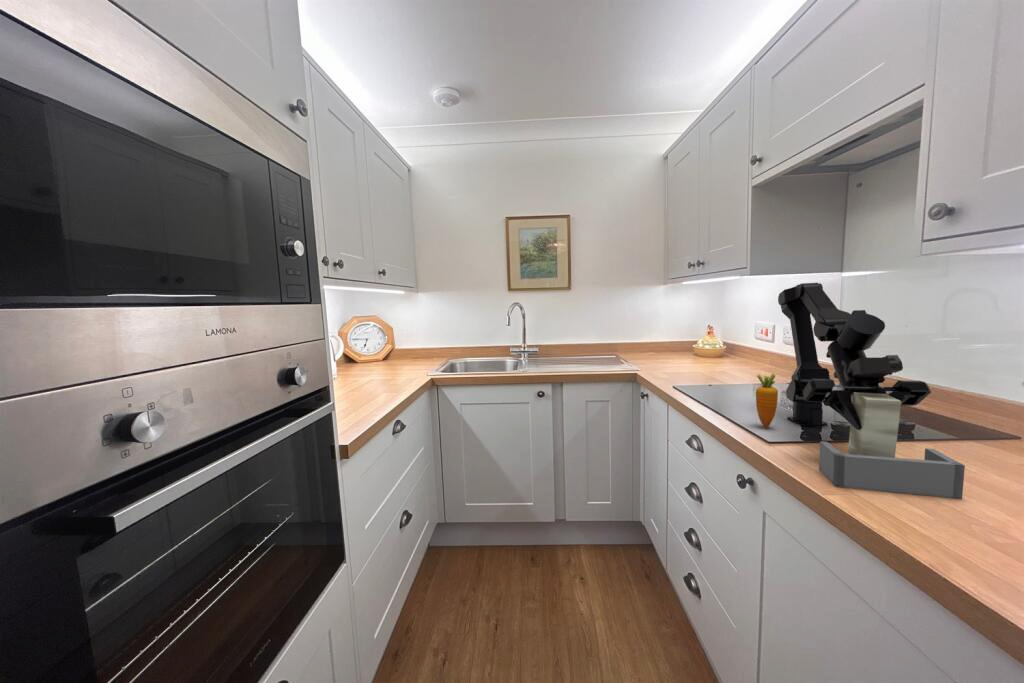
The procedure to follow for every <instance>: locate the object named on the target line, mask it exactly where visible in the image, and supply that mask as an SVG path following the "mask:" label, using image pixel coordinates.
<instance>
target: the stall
mask: <svg viewBox="0 0 1024 683" xmlns="http://www.w3.org/2000/svg"><path fill="white" fill-rule="evenodd" d="M818 458H819V459H818V460H819V462H818V470H819V472H821V473H822V474H823V475H824V476H825V477H826V479H827V480H829V481H830V483H832V484H833V485H834V487H837V488H838V487H839V488H848V489H858V490H859V489H860V490H867V491H880V492H888V493H898V494H908V495H916V496H917V495H918V496H928V497H939V498H948V499H960V500H962V499H963V492H964V480H965V469H966V465H965V464H963V463H961V462H959V461H958V460H955V459H954V458H951V457H950V456H948V455H946V454H945V453H942V452H940V451H939V450H937V449H935V448H925V449H924V459H916V458H903V457H902V458H901V457H895V458H891V457H878V456H864V455H851V454H849V453H842V452H840V451H839V449H837V448H836V447H835V446H833V445H832V444H831V443H829V442H828V441H819V456H818Z"/></svg>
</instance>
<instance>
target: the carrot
mask: <svg viewBox="0 0 1024 683" xmlns="http://www.w3.org/2000/svg"><path fill="white" fill-rule="evenodd" d="M756 377H757V379H758V380H759V382H760V384H761V386H758V387H757V388H756V390H755V404H756V405H755V406H756V410H757V415H758V417H759V420H760V423H761V425H762V426H763V427H764V428H765V429H767V428H769V427H770V426H771V424H772V423H773V421H774V418H775V415H776V411H777V408H778V398H779V396H778V395H779V392H778V389H777V388H776V387H774V386H772V385H774V384H775V383H776V381H775V378H776V374H775V373H772V374H771V375H770V376H767V375H764V376H763V377H762V376H761V375H760V374H757V375H756Z"/></svg>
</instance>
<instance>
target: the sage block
mask: <svg viewBox="0 0 1024 683" xmlns="http://www.w3.org/2000/svg"><path fill="white" fill-rule="evenodd" d="M852 404H853V406H854V408H855V411H856V413H857V415H858V417H859V420H860V423H861V427H862V428H861V429H860V430H857V429H856V428H855V427H853V426H852V425H851V424H850V428H849V437H848V448H847V454H851V455H864V456H878V457H891V458H896V451H897V443H898V433H899V426H900V416H901V408H902V406H901V401H900V400H898V399H895V398H893V397H891V396H889V395H887V394H877V393H858V392H854V394H853V396H852Z"/></svg>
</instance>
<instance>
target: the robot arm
mask: <svg viewBox="0 0 1024 683" xmlns="http://www.w3.org/2000/svg"><path fill="white" fill-rule="evenodd" d="M777 302H778V305H779V306H780V309H781V313H782V314H784V315H785V317H786V318H788V319H789V321H790V322H789V323H790V329H791V334H792V341H793V348H794V353H795V354H794V355H795V361H796V368H795V370H794V371H793V373H792V375H791V381H790V382H789V384H788V386H787V388H786V389H785V393H786V395H785V396H786V398H787V399H788V400H789V401H791V402H792V403H793V404H792V408H793V410H792V416H787V417H786V418H787V420H790V421H792V422H794V423H796V424H798V425H800V426H802V427H808V426H828V423H827V422H825V421H824V420H823V416H824V415H823V413H824V410H823V405H824V406H825V407H829V408H831V409H832V410H834V411H835V412H836V413H838V415H840V416H841V417H842V418H844V419H845V420H846V421H847V422H848V423H849V424H850V425H852V426H853V427H855V428H856V429H857V430H860V429H861V428H862V427H861V423H860V420H859V417H858V415H857V413H856V411H855V408H854V406H853V400H852V397H853V394H854V392H858V393H877V394H887V395H889V396H891V397H893V398H895V399H898V400H900V401H901V407H902V406H904V407H905V406H907V407H909V406H910V407H913V406H917V405H919V404H920V403H921V402H922V401H923V400H925V398H926V397H928V396H929V395H930V394H931V393H932V390H931V388H930V386H929V385H928V383H926V382H925V381H923V380H907V379H906V380H901V379H899V380H897V381H896V382H895V383H894V384H893V385H892V386H880V384H883V383H884V382H885V381H886V378H885V377H886V376H891V375H893V374H894V373H895V374H896V373H898V372H901V371H902V370H904V366H903V362H902V360H901V358H900V357H899V355H898V354H891V355H890V354H888V355H887V354H886V355H885V356H883V357H867V355H866V352H865V351H867V350H869V349H871V348H872V346H873V345H874V344H875V342H876V341H877V339H878V338H879V337H880V335H881V334H882V333H883V332H884V330H885V328H886V324H885V322H884V320H882V319H881V318H879V317H878V316H876V315H873V314H870V313H867V311H866V310H865V309H857V310H854V309H853V310H852V312H851V313H850V312H848V311H844V310H842V309H838V307H837V306H836V305H835V303H834V302H833V301H832V300H831V298H830V297H829V296H828V294H827V293H826V292H825V290H824V288H823V285H822V283H820V282H807V283H805V282H804V283H800V284H796V285H795V286H793V287H789V288H786V289H783V290H782V291H780V293H779V294H778V297H777ZM811 316H812V317H811ZM812 318H813V320H814V321H815V322H814V325H813V323H812ZM815 337H816V338H817V340H818V341H819V342H831V343H830V344H828V346H827V352H826V355H825V357H826V358H827V359H828V358H829V359H830V360H831V362H832V366H833V368H834V373H833V378H834V379H838V382H839V383H835V381H834V380H833V379H831V375H830V371H829V369H828V368H827V367H822V366H821V365H820V362H819V359H818V353H817V352H818V351H817V347H816V341H815Z"/></svg>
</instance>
